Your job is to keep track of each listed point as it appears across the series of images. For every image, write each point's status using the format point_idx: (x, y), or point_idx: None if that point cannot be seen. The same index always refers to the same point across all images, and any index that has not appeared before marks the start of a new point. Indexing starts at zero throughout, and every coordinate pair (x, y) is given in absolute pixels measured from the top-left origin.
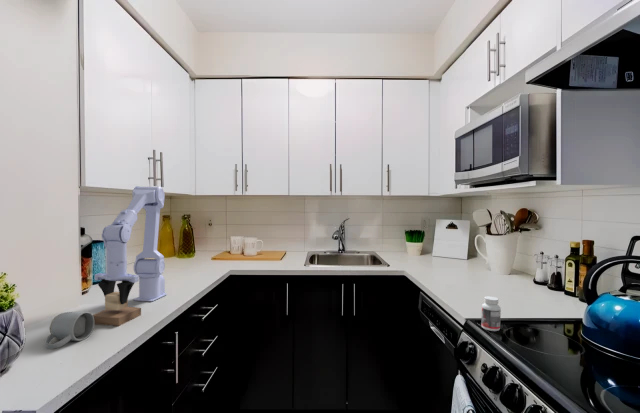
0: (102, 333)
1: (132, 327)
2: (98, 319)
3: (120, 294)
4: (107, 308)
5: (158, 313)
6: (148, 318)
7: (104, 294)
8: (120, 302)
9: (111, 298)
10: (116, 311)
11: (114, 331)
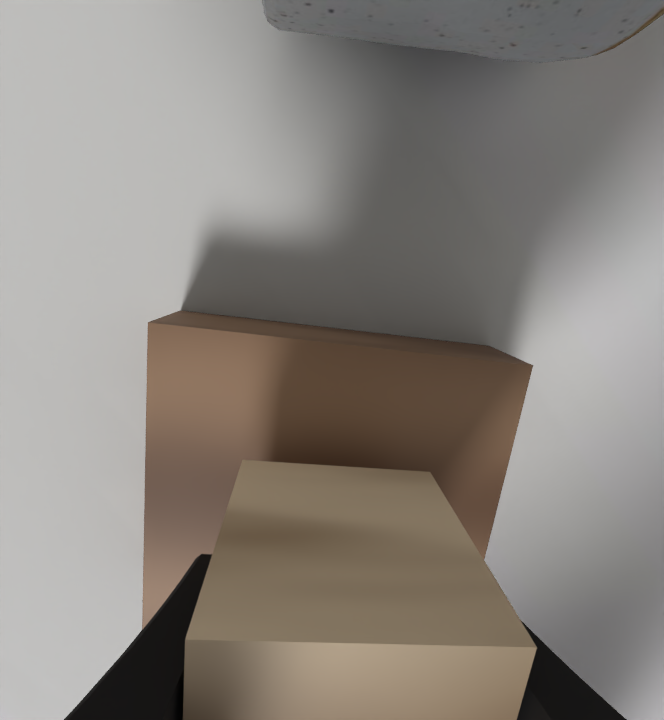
0: (207, 110)
1: (16, 295)
2: (419, 345)
3: (128, 718)
4: (397, 475)
5: (38, 637)
6: (38, 522)
7: (585, 694)
8: None
9: (354, 588)
10: None
11: (122, 174)
